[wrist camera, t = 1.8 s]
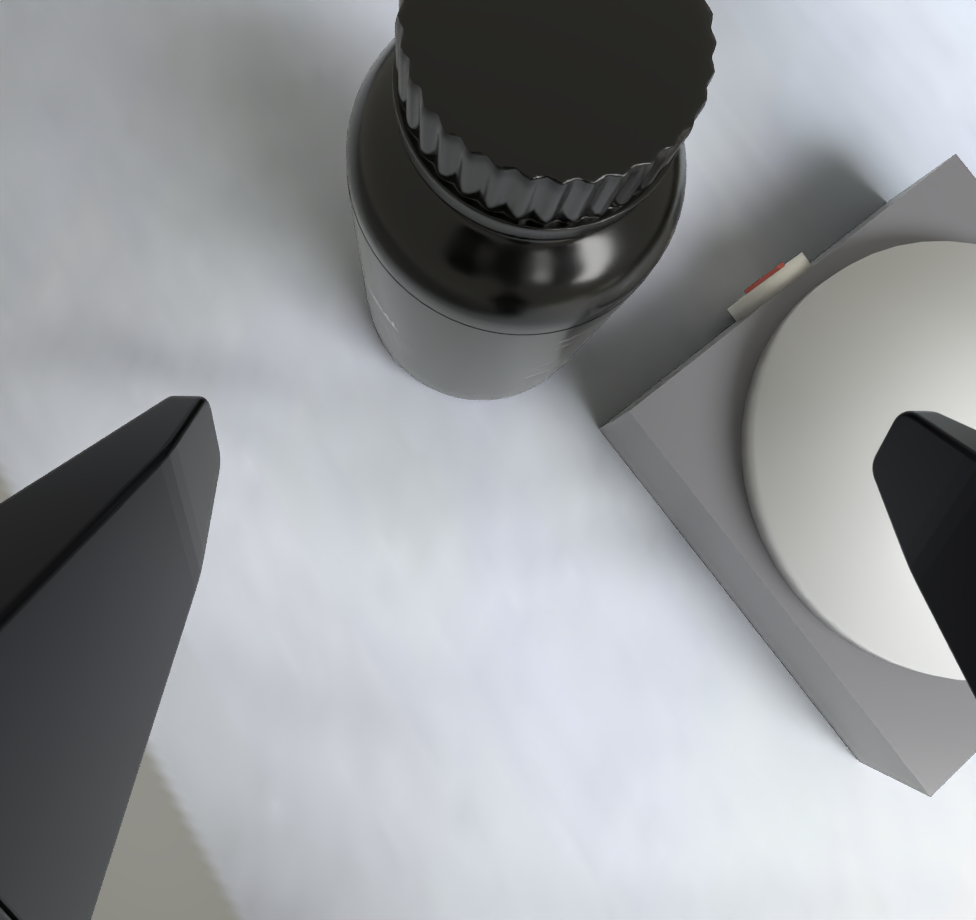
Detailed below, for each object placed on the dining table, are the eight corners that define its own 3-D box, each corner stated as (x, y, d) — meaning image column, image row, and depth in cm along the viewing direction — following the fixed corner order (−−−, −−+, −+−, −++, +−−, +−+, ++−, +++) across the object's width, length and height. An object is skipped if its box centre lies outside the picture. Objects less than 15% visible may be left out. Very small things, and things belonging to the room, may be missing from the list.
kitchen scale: (859, 761, 22) (953, 808, 18) (586, 412, 22) (623, 386, 18) (1129, 502, 24) (1265, 496, 20) (876, 187, 24) (963, 121, 20)
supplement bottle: (322, 316, 21) (210, 35, 9) (457, 154, 22) (508, -282, 10) (501, 451, 21) (614, 343, 10) (627, 285, 22) (868, 1, 11)
